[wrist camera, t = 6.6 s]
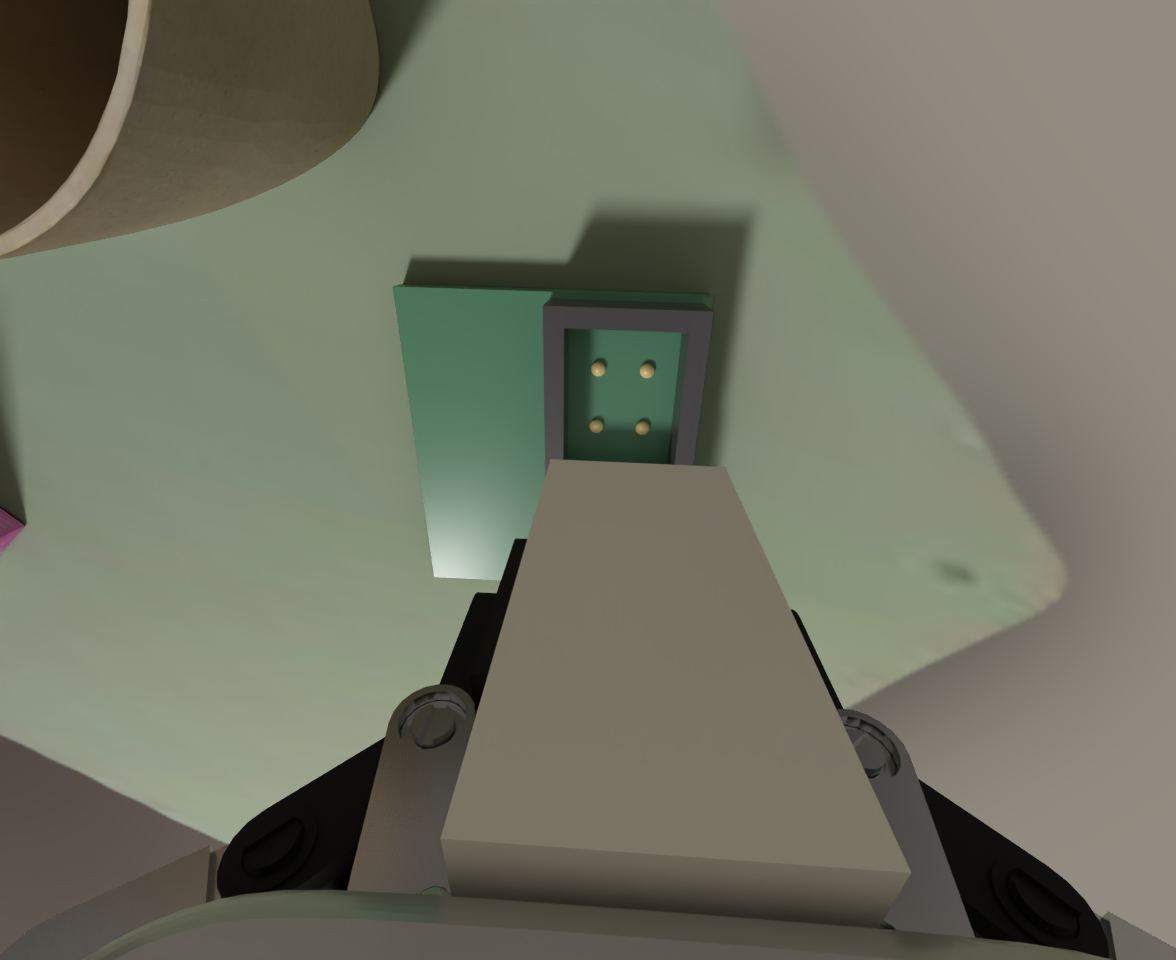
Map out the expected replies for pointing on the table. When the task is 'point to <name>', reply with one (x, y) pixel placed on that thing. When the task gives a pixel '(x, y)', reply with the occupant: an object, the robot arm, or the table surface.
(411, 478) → the table surface
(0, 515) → the gum box
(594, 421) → the board
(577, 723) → the plug
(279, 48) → the plant pot
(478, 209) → the table surface
